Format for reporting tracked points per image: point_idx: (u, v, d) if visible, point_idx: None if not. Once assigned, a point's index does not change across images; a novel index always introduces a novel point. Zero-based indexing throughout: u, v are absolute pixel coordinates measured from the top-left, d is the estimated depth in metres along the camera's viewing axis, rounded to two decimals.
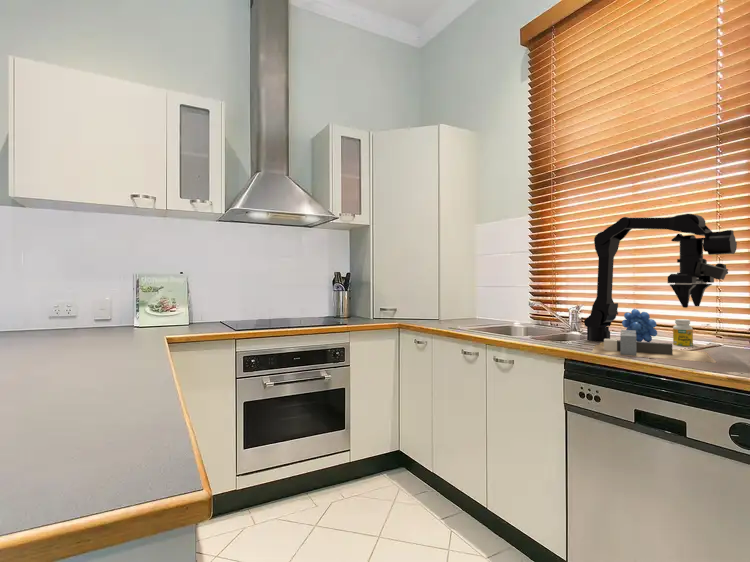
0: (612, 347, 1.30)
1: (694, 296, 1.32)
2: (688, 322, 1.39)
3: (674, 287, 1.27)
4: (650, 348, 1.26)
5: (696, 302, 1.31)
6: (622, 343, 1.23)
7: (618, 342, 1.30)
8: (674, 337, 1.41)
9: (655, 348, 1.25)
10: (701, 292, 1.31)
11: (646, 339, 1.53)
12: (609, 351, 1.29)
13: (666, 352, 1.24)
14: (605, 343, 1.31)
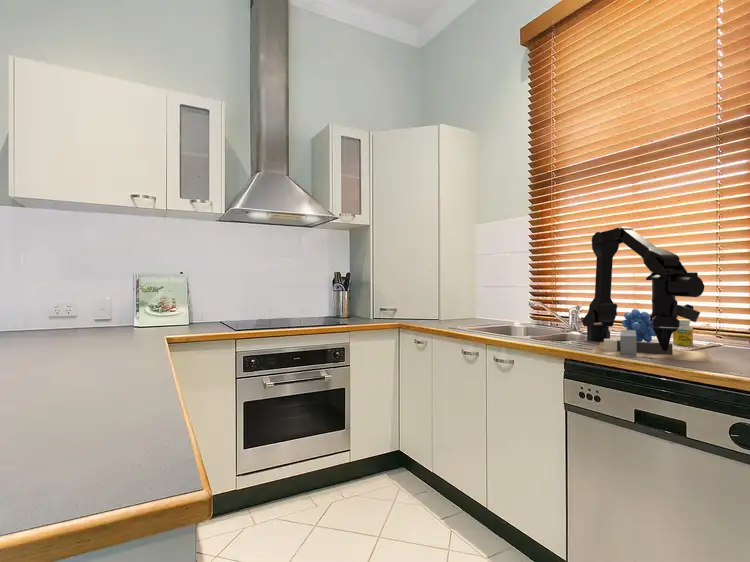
0: (612, 347, 1.30)
1: None
2: (688, 322, 1.39)
3: (656, 330, 1.20)
4: (650, 348, 1.26)
5: None
6: (622, 343, 1.23)
7: (618, 342, 1.30)
8: (674, 337, 1.41)
9: (655, 348, 1.25)
10: None
11: (646, 339, 1.53)
12: (609, 351, 1.29)
13: (666, 352, 1.24)
14: (605, 343, 1.31)
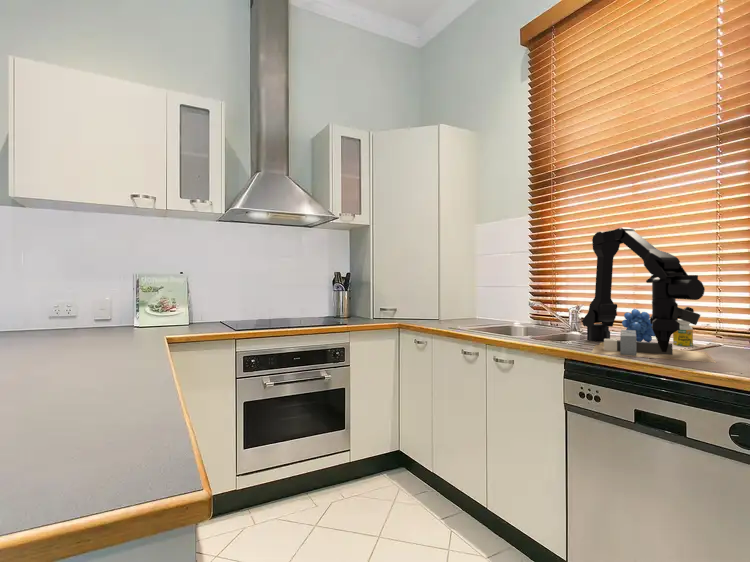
0: (612, 347, 1.30)
1: None
2: (688, 322, 1.39)
3: (656, 331, 1.23)
4: (650, 348, 1.26)
5: None
6: (622, 343, 1.23)
7: (618, 342, 1.30)
8: (674, 337, 1.41)
9: (655, 348, 1.25)
10: None
11: (646, 339, 1.53)
12: (609, 351, 1.29)
13: (666, 352, 1.24)
14: (605, 343, 1.31)
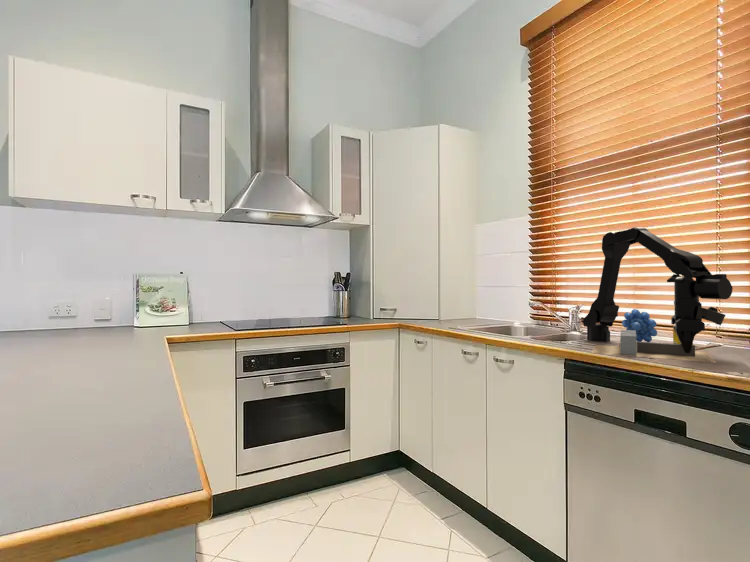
0: None
1: None
2: None
3: (679, 332, 1.20)
4: (671, 350, 1.23)
5: None
6: (622, 343, 1.23)
7: (638, 343, 1.27)
8: (674, 337, 1.41)
9: (676, 350, 1.22)
10: None
11: (646, 339, 1.53)
12: (609, 351, 1.29)
13: (689, 353, 1.21)
14: None
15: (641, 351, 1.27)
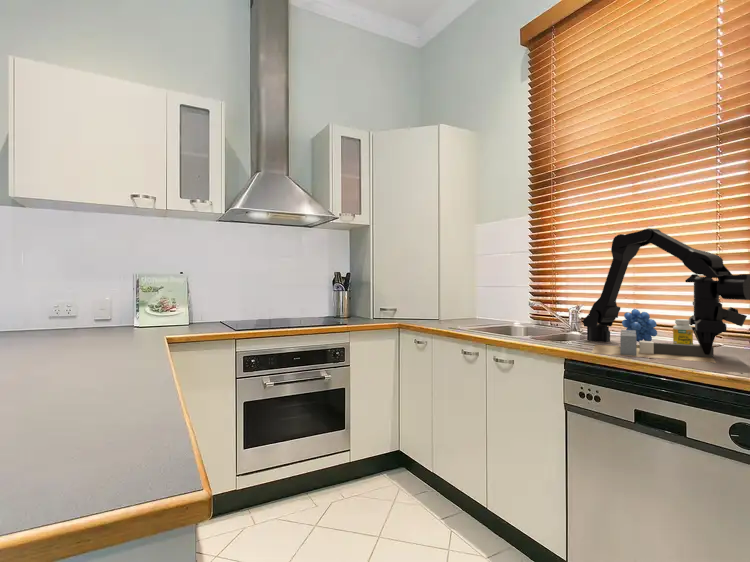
0: (648, 349, 1.25)
1: None
2: (688, 322, 1.39)
3: (698, 333, 1.18)
4: (689, 351, 1.21)
5: None
6: (622, 343, 1.23)
7: (655, 344, 1.25)
8: (674, 337, 1.41)
9: (694, 351, 1.20)
10: None
11: (646, 339, 1.53)
12: (609, 351, 1.29)
13: (707, 355, 1.19)
14: (641, 345, 1.26)
15: (658, 352, 1.25)
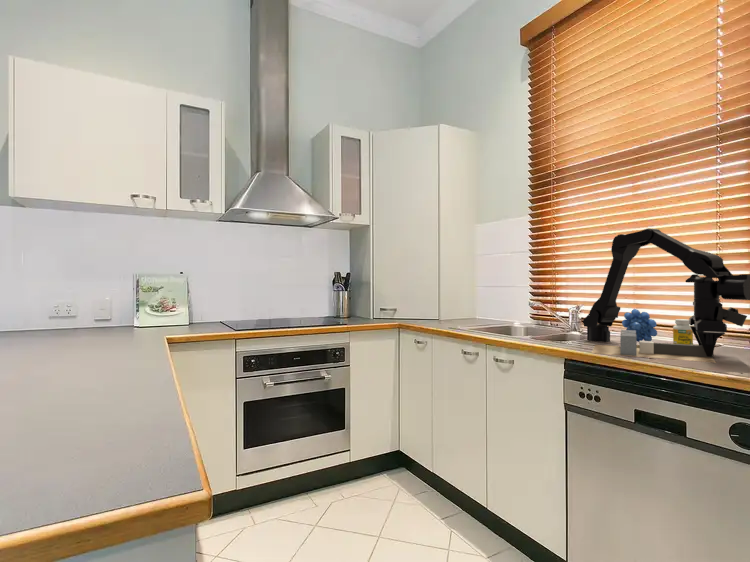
0: (648, 349, 1.25)
1: None
2: (688, 322, 1.39)
3: (700, 334, 1.15)
4: (689, 351, 1.21)
5: None
6: (622, 343, 1.23)
7: (655, 344, 1.25)
8: (674, 337, 1.41)
9: (694, 351, 1.20)
10: None
11: (646, 339, 1.53)
12: (609, 351, 1.29)
13: None
14: (641, 345, 1.26)
15: (658, 352, 1.25)
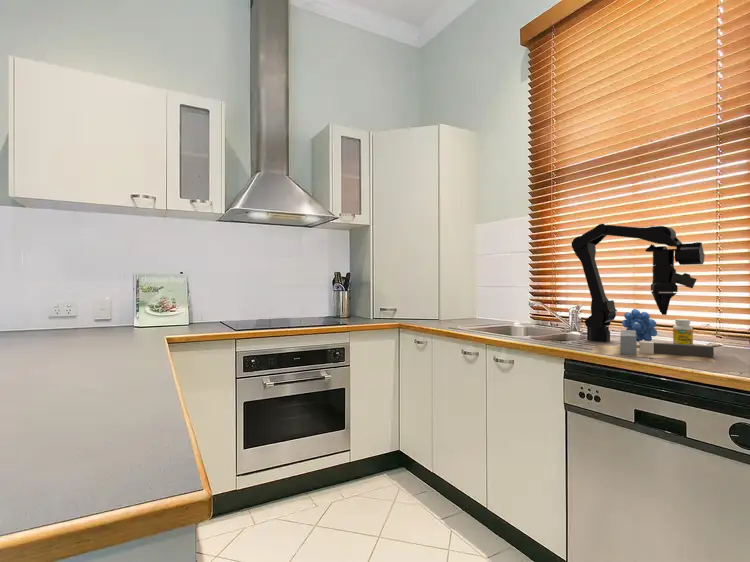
0: (648, 349, 1.25)
1: None
2: (688, 322, 1.39)
3: (656, 295, 1.32)
4: (689, 351, 1.21)
5: None
6: (622, 343, 1.23)
7: (655, 344, 1.25)
8: (674, 337, 1.41)
9: (694, 351, 1.20)
10: None
11: (646, 339, 1.53)
12: (609, 351, 1.29)
13: (707, 355, 1.19)
14: (641, 345, 1.26)
15: (658, 352, 1.25)
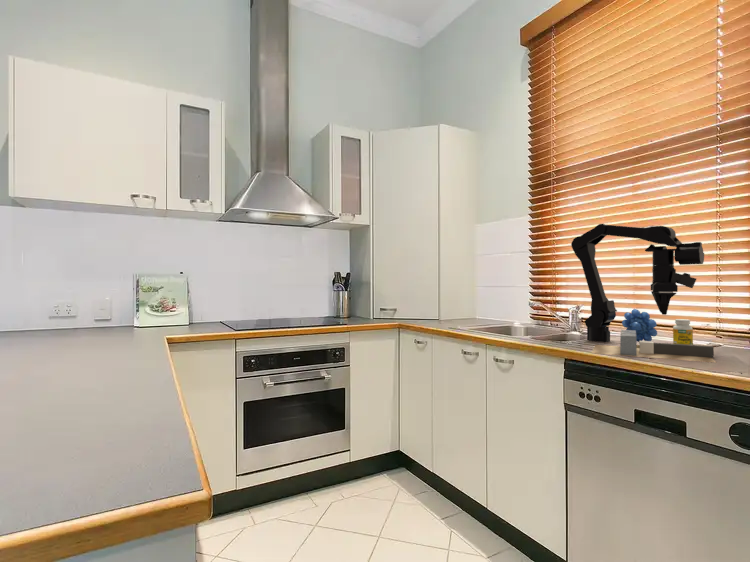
0: (648, 349, 1.25)
1: None
2: (688, 322, 1.39)
3: (656, 295, 1.32)
4: (689, 351, 1.21)
5: None
6: (622, 343, 1.23)
7: (655, 344, 1.25)
8: (674, 337, 1.41)
9: (694, 351, 1.20)
10: None
11: (646, 339, 1.53)
12: (609, 351, 1.29)
13: (707, 355, 1.19)
14: (641, 345, 1.26)
15: (658, 352, 1.25)
